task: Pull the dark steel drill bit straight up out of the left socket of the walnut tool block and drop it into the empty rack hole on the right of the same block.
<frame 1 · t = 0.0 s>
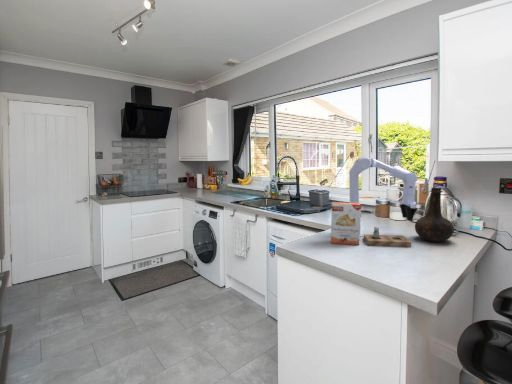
hand: (407, 218, 159), 10 cm above the worktop, tool pointing down, fingers open, 7 cm apart
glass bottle: (432, 240, 154), on the worktop
cracker box: (344, 243, 150), on the worktop
drill bit: (375, 242, 150), resting in tool block
tool block: (386, 242, 149), on the worktop
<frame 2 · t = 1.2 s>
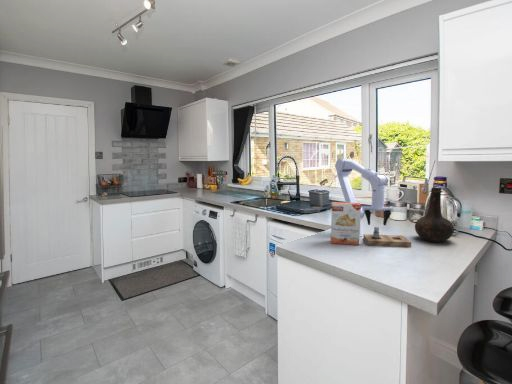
hand: (376, 224, 149), 9 cm above the worktop, tool pointing down, fingers open, 7 cm apart
nothing on the worktop moved.
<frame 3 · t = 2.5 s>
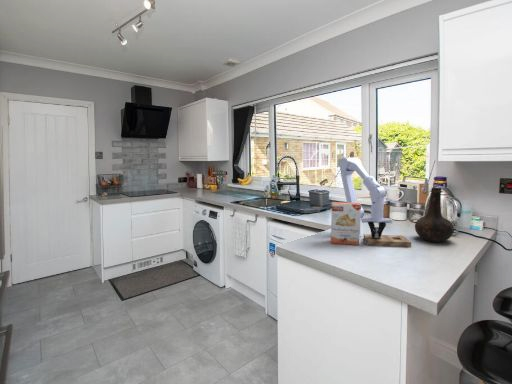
hand: (376, 236, 150), 3 cm above the worktop, tool pointing down, fingers closed on drill bit, 3 cm apart
drill bit: (375, 242, 150), resting in tool block, touching gripper
everything else where it was.
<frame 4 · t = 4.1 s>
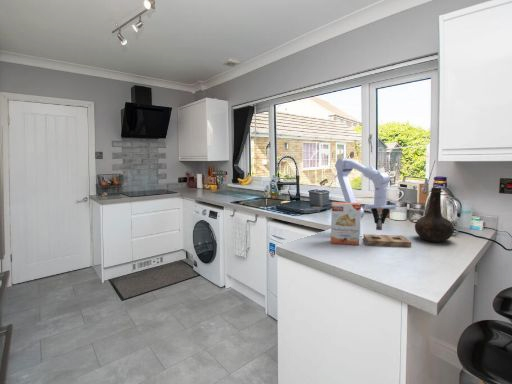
hand: (379, 223, 149), 10 cm above the worktop, tool pointing down, fingers closed on drill bit, 3 cm apart
drill bit: (379, 229, 149), point 7 cm above the worktop, touching gripper
everything else where it was.
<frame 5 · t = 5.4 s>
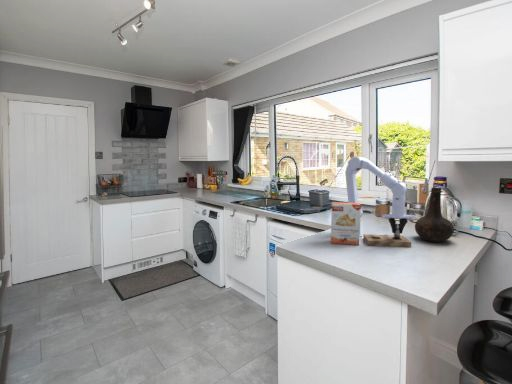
hand: (397, 232, 148), 5 cm above the worktop, tool pointing down, fingers closed on drill bit, 3 cm apart
drill bit: (396, 239, 148), point 2 cm above the worktop, touching gripper
everything else where it was.
when the fingers open (4 cm above the worktop, at t = 5.9 s): drill bit stays where it is, resting in tool block.
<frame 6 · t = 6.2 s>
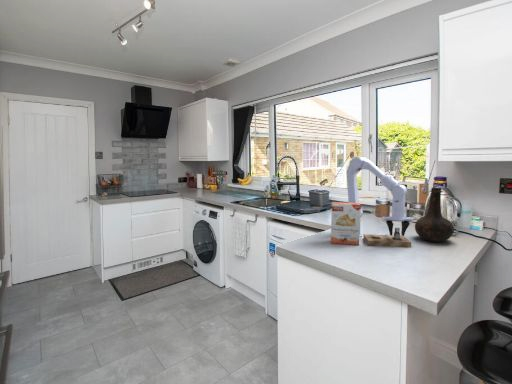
hand: (396, 235, 148), 4 cm above the worktop, tool pointing down, fingers open, 5 cm apart
drill bit: (396, 243, 148), resting in tool block
everything else where it was.
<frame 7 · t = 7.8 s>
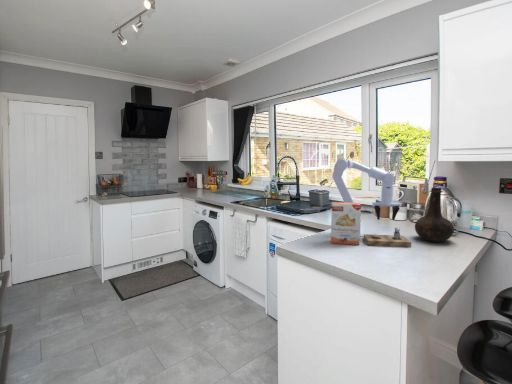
hand: (385, 219, 159), 10 cm above the worktop, tool pointing down, fingers open, 7 cm apart
nothing on the worktop moved.
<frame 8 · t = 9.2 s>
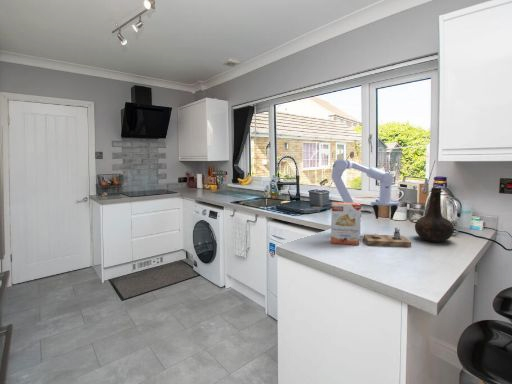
hand: (384, 218, 161), 10 cm above the worktop, tool pointing down, fingers open, 7 cm apart
nothing on the worktop moved.
at the end: drill bit 0.1 cm from the target spot on the tool block, point 0.0 cm above the tool block's base; drill bit tilted 0°; the gripper is holding nothing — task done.
